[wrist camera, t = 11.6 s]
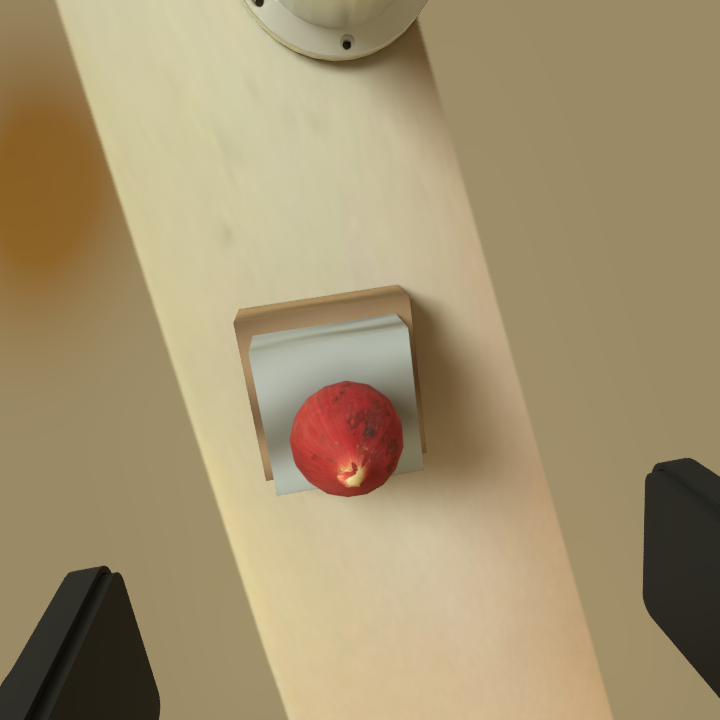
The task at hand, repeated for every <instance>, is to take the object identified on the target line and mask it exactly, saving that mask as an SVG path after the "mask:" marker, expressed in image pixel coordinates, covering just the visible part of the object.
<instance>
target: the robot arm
mask: <svg viewBox="0 0 720 720" xmlns="http://www.w3.org/2000/svg"><path fill="white" fill-rule="evenodd" d="M263 1H264V5H263V6H262V7H258V6H256V4H255V2H256V0H242V2H243V4H244V5H245V7H246V9H247V10H248V11H249V12H250V14H251V15H252V16H253V18H254V19H255V20H256V21H257V23H258V24H259V25H260V26H261V27H262V28H263V29H264V30H265V31H266V32H268V33H269V34H270V35H271V36H272V37H273V38H274V39H275V40H277V41H278V42H280V43H282V44H283V45H285V46H287V47H288V48H290V49H292V50H293V51H295V52H298V53H301V54H303V55H306V56H309V57H312V58H315V59H322V60H329V61H342V60H354V59H357V58H361V57H364V56H368V55H371V54H373V53H375V52H377V51H379V50H381V49H383V48H384V47H386V46H388V45H390V44H391V43H392V42H393V41H394V40H396V39H397V38H398V37H399V36H400V35H402V34H403V33H404V32H405V31H406V30H407V29H408V27H409V26H410V25H411V24H412V23H413V22H414V20H415V19H416V18H417V16H418V15H419V13H420V12H421V10H422V8H423V7H424V5H425V4H426V2H427V0H263ZM345 41H347V42H349V43H350V45H351V48H350V49H348V50H347V49H345V48H343V42H345ZM643 599H644V604H645V606H646V609H647V611H648V613H649V614H650V616H651V617H652V619H653V620H654V621H655V622H656V623H657V624H658V626H659V627H660V628H661V629H662V630H663V631H664V633H665V634H666V635H667V636H668V637H669V639H670V640H671V641H672V642H673V643H674V645H675V646H676V647H677V648H678V649H679V650H680V652H681V653H682V654H683V655H684V656H685V658H686V659H687V660H688V661H689V662H690V664H691V665H692V666H693V667H694V668H695V669H696V671H697V672H698V673H699V674H700V675H701V677H702V678H703V679H704V680H705V681H706V682H707V684H708V685H709V686H710V687H711V688H712V690H713V691H714V692H715V693H716V694H717V696H718V697H719V698H720V477H719V476H718V475H716V474H715V473H713V472H712V471H710V470H709V469H707V468H706V467H704V466H703V465H701V464H700V463H698V462H697V461H695V460H693V459H691V458H683V459H678V460H673V461H667V462H662V463H658V464H656V465H655V466H654V468H653V470H652V473H649V474H648V475H647V477H646V480H645V513H644V563H643ZM159 698H160V697H159V692H158V689H157V686H156V683H155V680H154V676H153V673H152V670H151V667H150V663H149V660H148V657H147V654H146V651H145V647H144V644H143V641H142V638H141V635H140V631H139V628H138V625H137V622H136V619H135V615H134V612H133V609H132V606H131V603H130V600H129V596H128V593H127V590H126V587H125V583H124V580H123V578H122V576H121V574H120V573H118V572H116V573H111V571H110V570H109V568H108V567H106V566H100V567H94V568H89V569H84V570H78V571H73V572H70V573H68V574H67V576H66V577H65V578H64V580H63V582H62V584H61V585H60V587H59V589H58V590H57V592H56V594H55V596H54V597H53V599H52V601H51V602H50V604H49V606H48V608H47V609H46V611H45V613H44V615H43V616H42V618H41V620H40V621H39V623H38V625H37V627H36V629H35V630H34V632H33V634H32V635H31V637H30V639H29V640H28V642H27V644H26V646H25V648H24V649H23V651H22V653H21V654H20V656H19V658H18V660H17V661H16V663H15V665H14V667H13V668H12V670H11V671H10V673H9V674H8V676H7V677H6V678H5V680H4V681H3V683H2V684H1V686H0V720H159V715H160V699H159Z"/></svg>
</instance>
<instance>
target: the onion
mask: <svg viewBox="0 0 720 720" xmlns="http://www.w3.org/2000/svg"><path fill="white" fill-rule="evenodd" d="M289 441H290V445H291V450H292V455H293V459H294V462H295V465H296V467H297V468H298V469H299V471H300V472H301V473H302V474H303V476H304V477H305V478H306V479H307V481H308V482H309V483H311V484H312V485H314V486H315V487H317V488H319V489H320V490H322V491H324V492H326V493H327V494H332V495H338V496H345V497H351V496H357V495H364V494H368V493H369V492H371V491H373V490H375V489H376V488H378V487H380V486H382V485H383V484H384V483H385V482H386V481H387V479H388V478H389V477H390V476H391V475H392V473H393V472H394V471H395V470H396V468H397V465H398V462H399V459H400V456H401V453H402V450H403V447H404V444H403V431H402V423H401V419H400V418H399V416H398V414H397V412H396V410H395V408H394V406H393V405H392V403H391V401H390V400H389V399H388V398H387V397H386V396H385V395H383V394H382V393H380V392H379V391H377V390H376V389H374V388H373V387H372V386H370V385H369V384H364V383H358V382H351V381H343V382H339V383H336V384H332V385H328V386H325V387H323V388H322V389H320V390H319V391H317V392H316V393H314V394H313V395H311V396H310V397H308V398H307V400H306V401H305V402H304V404H303V405H302V407H301V408H300V409H299V411H298V412H297V414H296V416H295V418H294V422H293V426H292V430H291V435H290V439H289Z"/></svg>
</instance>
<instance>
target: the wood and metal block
mask: <svg viewBox="0 0 720 720" xmlns="http://www.w3.org/2000/svg"><path fill="white" fill-rule="evenodd" d="M234 328H235V333H236V338H237V342H238V347H239V352H240V357H241V362H242V366H243V371H244V376H245V381H246V386H247V391H248V395H249V400H250V405H251V410H252V415H253V419H254V424H255V429H256V434H257V439H258V444H259V448H260V453H261V458H262V463H263V468H264V472H265V477H266V481H269V480H274V483H275V488H276V492H277V496H280V495H286V494H291V493H297V492H302V491H308V490H314V489H319V488H317V487H315V486H314V485H312V484H311V483H309V482H308V481H307V479H306V478H305V477H304V476H303V474H302V473H301V472H300V471H299V469H298V468H297V467H296V465H295V462H294V459H293V455H292V450H291V445H290V441H289V439H290V435H291V430H292V426H293V422H294V418H295V416H296V414H297V412H298V411H299V409H300V408H301V407H302V405H303V404H304V402H305V401H306V400H307V398H308V397H310V396H311V395H313V394H314V393H316V392H317V391H319V390H320V389H322V388H323V387H325V386H328V385H332V384H336V383H339V382H343V381H351V382H358V383H364V384H369V385H370V386H372V387H373V388H374V389H376V390H377V391H379V392H380V393H382V394H383V395H385V396H386V397H387V398H388V399H389V400H390V401H391V403H392V405H393V406H394V408H395V410H396V412H397V414H398V416H399V418H400V419H401V423H402V431H403V444H404V447H403V450H402V453H401V456H400V459H399V462H398V465H397V468H396V470H395V471H394V472H393V473H392V475H397V474H402V473H408V472H413V471H419V470H424V466H423V458H422V453H426V444H425V435H424V426H423V416H422V407H421V398H420V389H419V380H418V371H417V361H416V352H415V343H414V334H413V325H412V316H411V306H410V297H409V294H407V293H406V292H405V291H404V290H403V289H402V288H401V287H400V286H398V285H394V286H387V287H381V288H374V289H368V290H361V291H355V292H348V293H342V294H336V295H329V296H323V297H316V298H310V299H303V300H297V301H291V302H284V303H278V304H271V305H265V306H258V307H252V308H245V309H239V311H238V313H237V315H236V318H235V320H234Z"/></svg>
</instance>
